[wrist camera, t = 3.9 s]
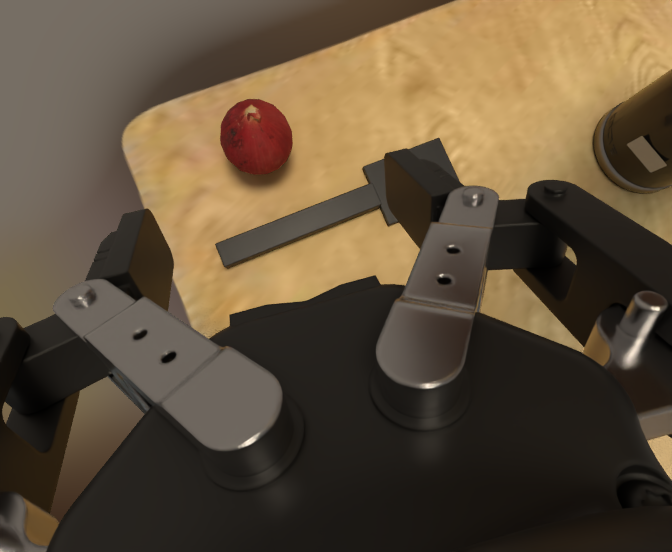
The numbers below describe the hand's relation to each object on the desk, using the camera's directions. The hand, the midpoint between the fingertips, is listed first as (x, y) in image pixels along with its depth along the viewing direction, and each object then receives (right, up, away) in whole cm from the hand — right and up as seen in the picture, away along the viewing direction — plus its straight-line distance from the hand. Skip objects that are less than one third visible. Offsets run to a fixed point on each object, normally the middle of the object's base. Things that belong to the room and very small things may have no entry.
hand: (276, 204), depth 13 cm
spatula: (+2, +3, +22) cm, 23 cm away
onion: (-5, +8, +23) cm, 25 cm away
